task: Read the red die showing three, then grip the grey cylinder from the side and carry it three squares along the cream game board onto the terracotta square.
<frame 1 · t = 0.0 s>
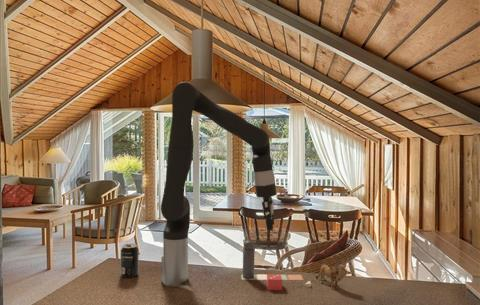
hand: (270, 227, 133), 22 cm above the countertop, tool pointing down, fingers open, 8 cm apart
beverage can: (129, 276, 145), on the countertop
red die: (274, 290, 131), on the countertop
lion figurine: (331, 285, 137), on the countertop
grey cylinder: (248, 276, 141), point 1 cm above the countertop, touching game board
game board: (271, 280, 141), on the countertop
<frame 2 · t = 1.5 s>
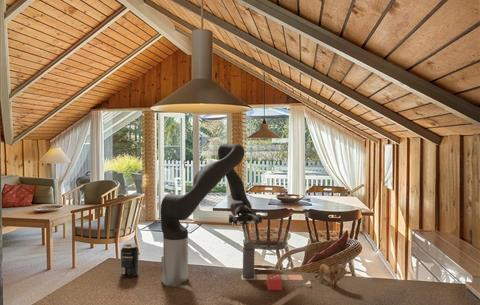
hand: (246, 222, 151), 20 cm above the countertop, tool horizontal, fingers open, 8 cm apart
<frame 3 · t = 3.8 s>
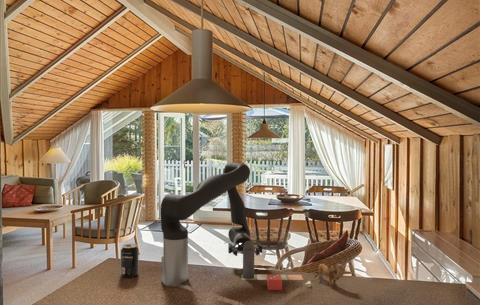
hand: (246, 253, 146), 9 cm above the countertop, tool horizontal, fingers open, 8 cm apart
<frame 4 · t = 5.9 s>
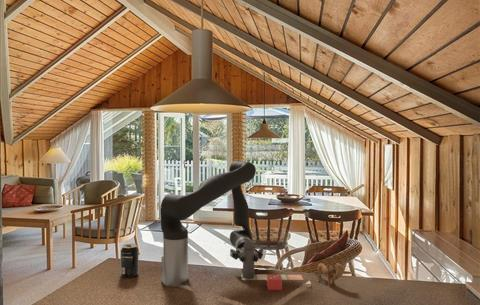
hand: (249, 259, 138), 9 cm above the countertop, tool horizontal, fingers closed on grey cylinder, 4 cm apart
grey cylinder: (248, 276, 141), point 1 cm above the countertop, touching game board, gripper
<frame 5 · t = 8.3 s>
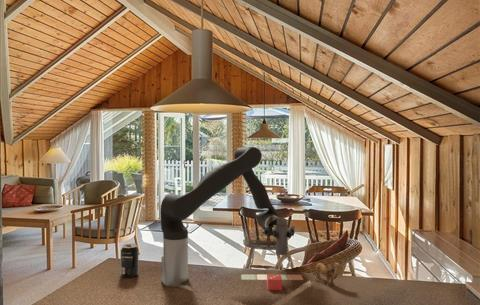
hand: (283, 235, 138), 18 cm above the countertop, tool horizontal, fingers closed on grey cylinder, 4 cm apart
grey cylinder: (281, 253, 141), point 10 cm above the countertop, touching gripper
when the fingers open (10 cm above the countertop, at t = 10.6 s): grey cylinder drops 1 cm, resting on game board.
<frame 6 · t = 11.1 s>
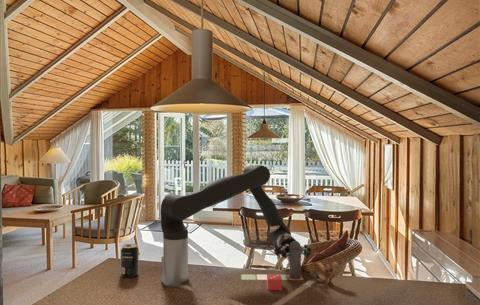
hand: (296, 255, 139), 11 cm above the countertop, tool horizontal, fingers open, 8 cm apart
grey cylinder: (295, 277, 141), point 1 cm above the countertop, touching game board
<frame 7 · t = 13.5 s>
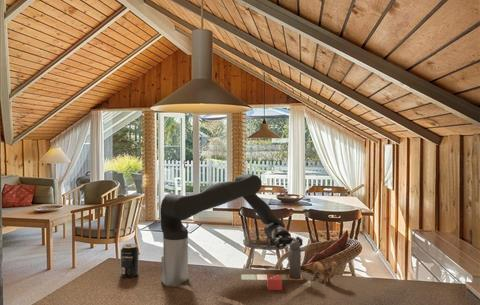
hand: (288, 245, 152), 11 cm above the countertop, tool horizontal, fingers open, 8 cm apart
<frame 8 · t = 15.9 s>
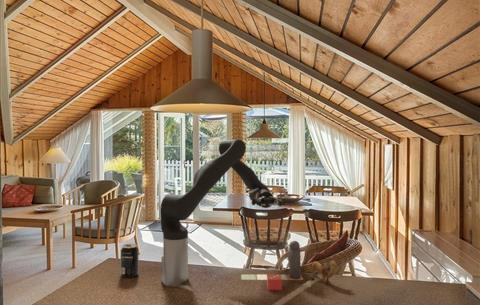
hand: (270, 203, 152), 28 cm above the countertop, tool horizontal, fingers open, 8 cm apart
at the end: grey cylinder 0.1 cm from the target spot, point 1.5 cm above the countertop; grey cylinder tilted 2°; the gripper is holding nothing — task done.
